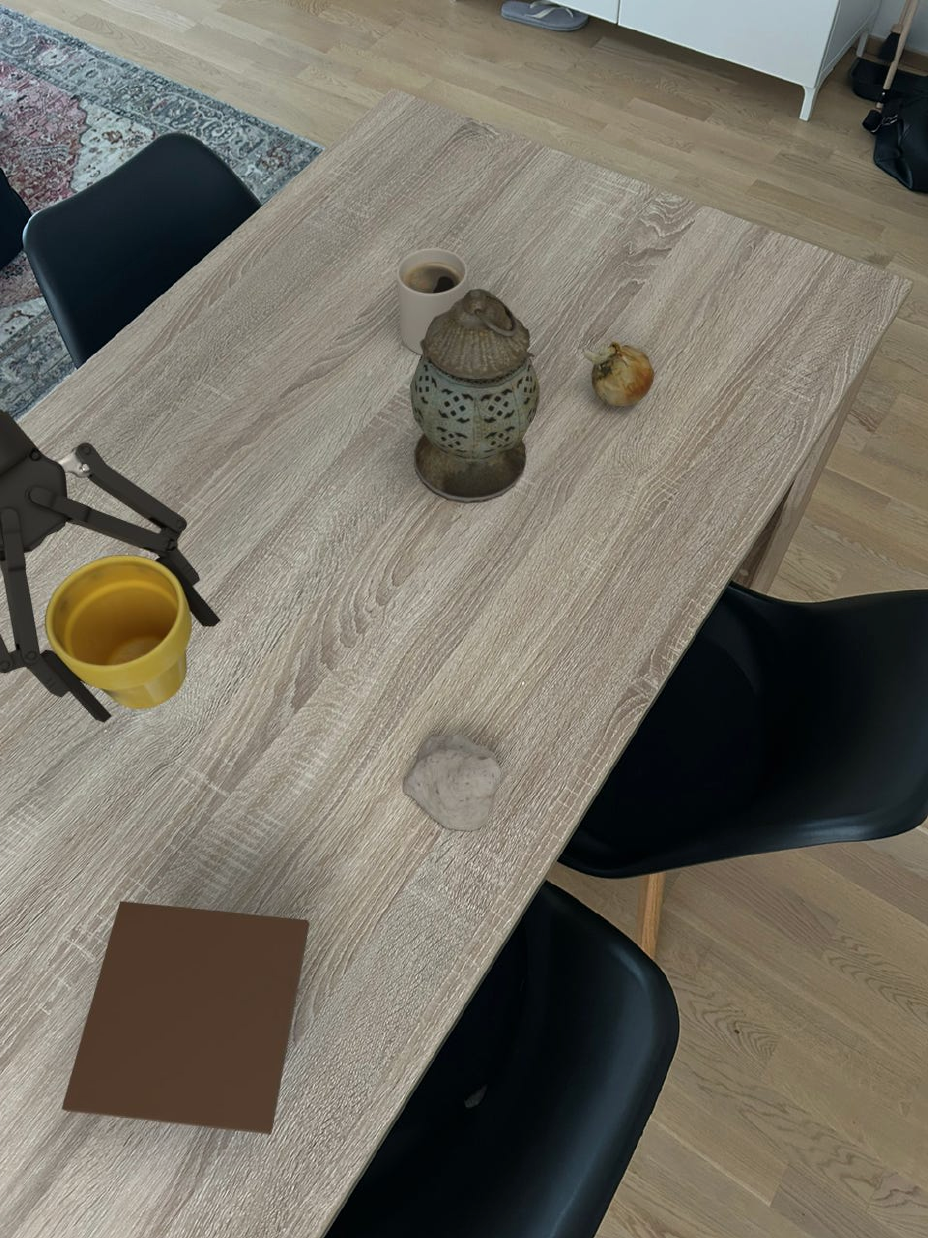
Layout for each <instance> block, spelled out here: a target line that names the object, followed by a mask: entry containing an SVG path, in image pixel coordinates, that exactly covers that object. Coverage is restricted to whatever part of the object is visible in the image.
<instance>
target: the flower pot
mask: <svg viewBox="0 0 928 1238" xmlns="http://www.w3.org/2000/svg"><path fill="white" fill-rule="evenodd" d="M192 618H193V617H192V613H191V612H190V609H189V605H188V602H187V599H186V597H185V594H184V591H183V589H182V587H181V585H180V583H179V581H178V579H177V578H176V577H175V575H174V574H173V573H172V572H171V571H170V570H169V569H168V568H166V567H165V566H164V565H162V564H160V563H159V562H157V561H155V559H152V558H149V557H145V556H141V555H136V554H114V555H109V556H105V557H101V558H98V559H95V560H93V561H90V562H87V563H86V564H84V565H82V566H80V567H78V568H77V569H76V570H74V571H73V572H71V573H70V574H68V575H67V577H65V578H64V579H63V580H62V581H61V583H60V584H59V585H58V586H57V587H56V589H55V590H54V591H53V593H52V595H51V597H50V599H49V601H48V603H47V606H46V610H45V614H44V629H45V630H44V631H45V634H46V638H47V641H48V643H49V644H50V646H51V648H52V651H54V652H55V653H56V655H57V656H58V657H59V658H60V659H61V660H62V661H63V662H64V663H65V664H66V666H67V667H68V668H69V669H70V670H71V671H72V672H73V673H74V674H75V676H76V677H77V678H78V679H79V680H80V681H81V682H82V683H83V684H84V685H88V686H90V687H92V688H96V689H99V690H101V691H102V692H103V693H104V694H106V695H107V696H108V697H109V698H110V699H112V700H113V701H114V702H115V703H117V704H119V705H121V706H123V707H126V708H128V709H132V710H133V709H134V710H147V709H151V708H155V707H157V706H159V705H163V704H164V703H166V702H167V701H169V700H170V699H172V698H173V697H174V696H175V695H176V694H177V693H178V692H179V690H180V689H181V688H182V686H183V684H184V682H185V679H186V676H187V671H188V665H187V663H188V662H187V647H188V644H189V642H190V639H191V635H192V631H193V630H192V629H193V619H192Z"/></svg>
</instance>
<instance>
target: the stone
mask: <svg viewBox="0 0 928 1238" xmlns="http://www.w3.org/2000/svg"><path fill="white" fill-rule="evenodd" d="M502 776H503V771H502V769H501V767H500V765H499V762H498V759H497V757H496V755H495V753H494V752H493V751H492V750H491V749H489V748H488V746H487V745H478V744H477V743H475V742H474V741H473V740H471V739H470V738H468V737H466V736H463V735H460V734H453V735H444V736H443V735H437V734H435V735H431V736H430V737H425V739H424V742H423V743H422V745H421V747H420V750H418V752H417V762H416V763H415V765H414V766H413V767H412V768H411V770H410V771H409V772H408V773H407V775H406V777H405V778H404V780H403V783H402V784H403V785H402V790H403V791H404V793H405V795H407V796H410V797H411V798H413V799H414V800H415V801H416V802H417V804H418V805H419V806H420V808H422V809H423V810H424V811H425V812H426V813H427V814H428V815H429V816H430V817H431V818H432V819H433V820H435V821H436V822H437V823H438V824H439V825H441V826H442V827H444V828H446V829H450V830H455V831H467V832H471V831H476V830H478V829H480V828H481V827H482V826H484V824H486V822H487V821H488V819H489V815H490V811H491V809H492V806H493V802H494V798H495V797H494V796H495V793H496V791H497V790H498V788H499V786H500V783H501V780H502Z"/></svg>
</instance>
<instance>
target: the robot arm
mask: <svg viewBox="0 0 928 1238" xmlns="http://www.w3.org/2000/svg"><path fill="white" fill-rule="evenodd" d="M66 474H71V475H73V476H75V477H76V478H78V479H85V478H87V479H88V480H89V481H90V482H91V483H93V485H95V486H96V487H98V488H100V489H101V490H103V491H104V492H105V493H107V494H109V496H112V497H113V498H114V499H116V500H117V501H119V502H121V503H122V504H123V505H125V506H126V507H128V508H129V509H131V511H134V512H135V513H137V514H138V516H139V515H140V516H141V517H142V518H144V519H145V520H147V521H148V522H150V523H151V524H153V525H154V526H156V527H157V528H159V529H160V530H159V532H155V531H153V530H150V529H148V528H145V527H142V526H139V525H137V524H134V523H132V522H129V521H126V520H124V519H122V518H120V517H117V516H113V515H111V514H108V513H106V512H103V511H100V510H98V509H95V508H93V507H91V506H89V505H88V504H85V503H83V502H80V501H77V500H75V499H71V498H69V497H68V487H67V486H68V485H67V475H66ZM67 523H68V524H70V525H74V526H79V527H81V528H85V529H87V530H89V531H93V532H95V533H97V534H101V535H103V536H106V537H109V538H111V539H113V540H116V541H119V542H122V543H125V544H127V545H130V546H133V547H136V548H139V549H141V550H144V551H147V552H150V553H152V554H155V555H156V556H158V557H157V558H156V559H154V561H157V562H159V563H160V564H162V565H164V566H165V567H166V568H168V569H169V570H170V571H171V572H172V573H173V574H174V575H175V577H176V578H177V579H178V581H179V583H180V585H181V587H182V589H183V591H184V594H185V597H186V599H187V602H188V605H189V609H190V613H191V615H193V617H194V618H195V619H196V620H197V622H198V623H199V624H200V625H201V626H202V627H211V628H214V627H215V626H217V625H218V624H219V623H220V622H221V619H220V617H219V616H218V615H217V614H216V612H215V611H214V610H213V609H212V608H211V606H209V604H208V602H206V600H205V599H204V598H203V597H202V596H201V594H200V593H199V592H198V591H197V590H196V588H195V586H196V584H198V583H200V581H201V578H200V575H199V573H198V571H197V570H196V569H195V568H194V567H193V565H192V564H191V563H190V562H189V560H188V559H187V558H186V557H185V556H184V554H183V553H182V552H181V550H180V549H179V542H178V541H179V538H180V537H181V535H182V534H183V532H184V531H185V530H186V529H187V528H188V521H187V520H186V519H185V518H184V517H183V516H181V515H180V514H178V513H177V512H176V511H174V510H173V509H171V508H170V507H169V506H167V505H165V504H164V503H163V502H162V501H160V500H158V499H157V498H155V497H154V496H153V495H151V494H150V493H149V492H147V491H146V490H144V489H143V488H142V487H140V486H138V485H137V484H135V483H134V482H132V481H131V480H130V479H128V478H126V477H125V475H122V474H121V473H119V472H118V471H117V470H115V469H113V468H112V467H111V466H109V465H108V464H107V463H106V462H105V460H104V459H103V457H102V456H101V455H100V453H99V452H98V450H97V449H96V448H95V447H94V446H93V445H92V443H90V442H88V441H87V442H86V441H85V442H82V443H79V444H78V445H77V446H75V447H73V448H72V449H71V451H70V452H69V453H67V455H65V456H63V457H62V458H60V459H59V460H58V461H56V460H54V459H52V458H50V457H48V456H46V455H45V454H44V453H43V452H42V451H41V450H40V449H39V448H38V446H37V445H36V444H35V443H34V442H33V441H32V439H31V438H30V437H29V436H28V434H27V433H26V432H25V431H24V430H23V428H22V427H21V426H20V425H19V424H18V422H16V420H15V419H14V418H13V416H11V414H10V413H9V411H7V410H5V411H4V410H3V409H2V408H1V409H0V572H1V573H2V578H3V584H4V590H5V596H6V602H7V607H8V613H9V619H10V624H11V630H12V635H13V636H12V637H13V641H14V648H15V649H14V650H11V651H9V649H8V648H7V645H6V643H5V641H4V639H3V636H2V634H1V633H0V674H3V675H4V674H5V675H6V674H9V673H10V672H12V671H15V670H19V669H21V668H25V669H27V670H28V671H30V673H31V674H32V675H33V676H34V677H35V678H36V679H37V680H38V681H39V682H40V683H41V684H42V686H43V687H44V688H45V689H46V690H47V691H48V692H49V693H50V694H52V695H53V696H56V697H59V698H60V699H61V698H63V697H64V696H65V695H67V694H68V693H69V692H70V693H71V695H72V696H73V697H74V698H75V699H76V700H77V701H78V703H79V704H80V705H81V706H82V707H83V708H84V709H85V710H86V711H87V712H88V713H89V715H91V717H93V719H94V720H96V721H98V722H101V723H106V722H107V721H108V720H110V719H111V718H112V717H113V715H112V714H111V713H110V712H109V710H108V709H107V708H106V707H105V706H104V705H103V704H102V703H101V702H100V701H99V700H98V699H97V697H96V696H95V695H94V694H93V693H92V692H91V691H90V689H88V687H86V684H85V683H83V682H82V681H80V680H79V679H78V678H77V677H76V676H75V674H74V673H73V672H72V671H71V670H70V669H69V668H68V667H67V666H66V664H65V663H64V662H63V661H62V660H61V659H60V658H59V657H58V656H57V655H56V653H55V652H54V650H53V649H52V650H51V649H44V650H43V651H42V652H41V650H40V644H39V638H38V632H37V627H36V620H35V616H34V615H35V614H34V608H33V603H32V598H31V593H30V591H31V590H30V586H29V581H28V574H27V562H26V561H27V560H26V555H25V554H27V553H28V554H29V553H31V552H33V551H34V550H36V549H37V548H39V547H40V546H41V545H42V544H43V542H44V541H45V540H46V538H47V537H48V536H51V535H53V534H56V533H59V531H61V530H62V529H63V528H64V527H66V526H67Z"/></svg>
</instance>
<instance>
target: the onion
mask: <svg viewBox="0 0 928 1238" xmlns="http://www.w3.org/2000/svg"><path fill="white" fill-rule="evenodd" d="M582 354H583V357H584V358H585V359H587V361H589V362H590V363H592V364H593V367H592V369H591V373H590V375H591V384H592V388H593V390H594V392H595V394H596V396H597V397H599V399H600V400H602V401H603V402H604V403H606V404H608V405H610V406H612V407H613V406H614V407H627V406H631V405H635V404H636V403H638V402H640V401H641V400H642V399H643V398H644V397H645V398H646V395H647V394H648V393H649V391H650V390H651V387H652V386H653V383H654V380H655V379H654V378H655V371H654V368H653V366H652V363H651V361H650V359H649V357H648V355H646V353H644V352H643V350H641V349H638V348H636V347H634V346H633V345H629V344H624V345H622V344H621V343H620V342H617V341H611V342H610V343H609V345H607V344H604V349H603V351H602V353H600V352H597V351H594V350H592V349H590V348H589V347H587V348H585V349H584V350H583V353H582Z"/></svg>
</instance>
